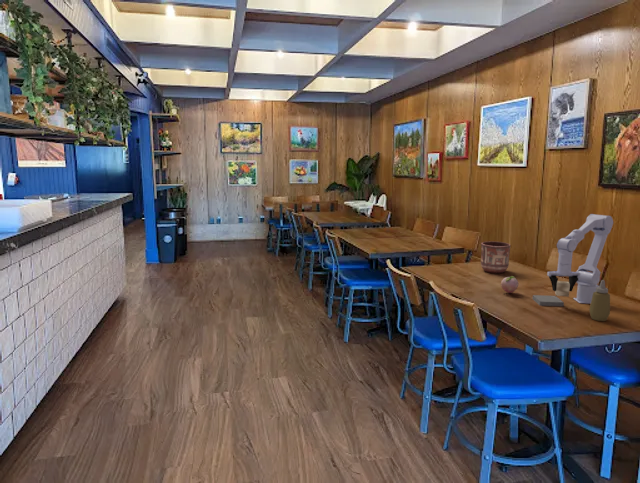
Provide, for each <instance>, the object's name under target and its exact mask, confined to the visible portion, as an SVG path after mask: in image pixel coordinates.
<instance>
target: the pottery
mask: <svg viewBox="0 0 640 483" xmlns="http://www.w3.org/2000/svg"><path fill="white" fill-rule="evenodd" d="M480 245H481V246H480V247H481V252H480V253H481V255H480V256H481V257H480V266H481V268H482V269H483V271H484V272H486V273H489V274H502V273H504V272H506V271H507V270H508V268H509V261H510V252H511V243H508V242H503V241H490V240H489V241H483V242H481V244H480Z"/></svg>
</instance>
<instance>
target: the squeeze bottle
mask: <svg viewBox="0 0 640 483" xmlns="http://www.w3.org/2000/svg"><path fill="white" fill-rule="evenodd" d="M598 286H599V287H596V292H594V293H593V296H592V300H591V304H590V305H589V308H588V309H589V310H588V311H589V315H590V318H591V320H594V321H598V322H607V320H608V319H609V316H610V314H611V294H610V293H609V288H607V287H606V282H605V279H602V280H601V279H600V284H599V285H598Z"/></svg>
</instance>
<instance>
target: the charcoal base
mask: <svg viewBox="0 0 640 483" xmlns="http://www.w3.org/2000/svg"><path fill="white" fill-rule="evenodd" d="M532 300H533V301H534V302H535V303H536V304H538V305H539V306H543V307H564V306H565V304H564V303H565V302H564V301H562V299H560V298H559V297H557V296H556V295H541V294H539V295H538V294H532Z"/></svg>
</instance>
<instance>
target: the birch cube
mask: <svg viewBox="0 0 640 483" xmlns="http://www.w3.org/2000/svg"><path fill="white" fill-rule="evenodd" d="M569 290H570V283H569V281H562V280H558V281H557V286H556V291H554V293H555V296H556V297H557V296H558V297H567V298H569V297H570V291H569Z"/></svg>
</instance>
